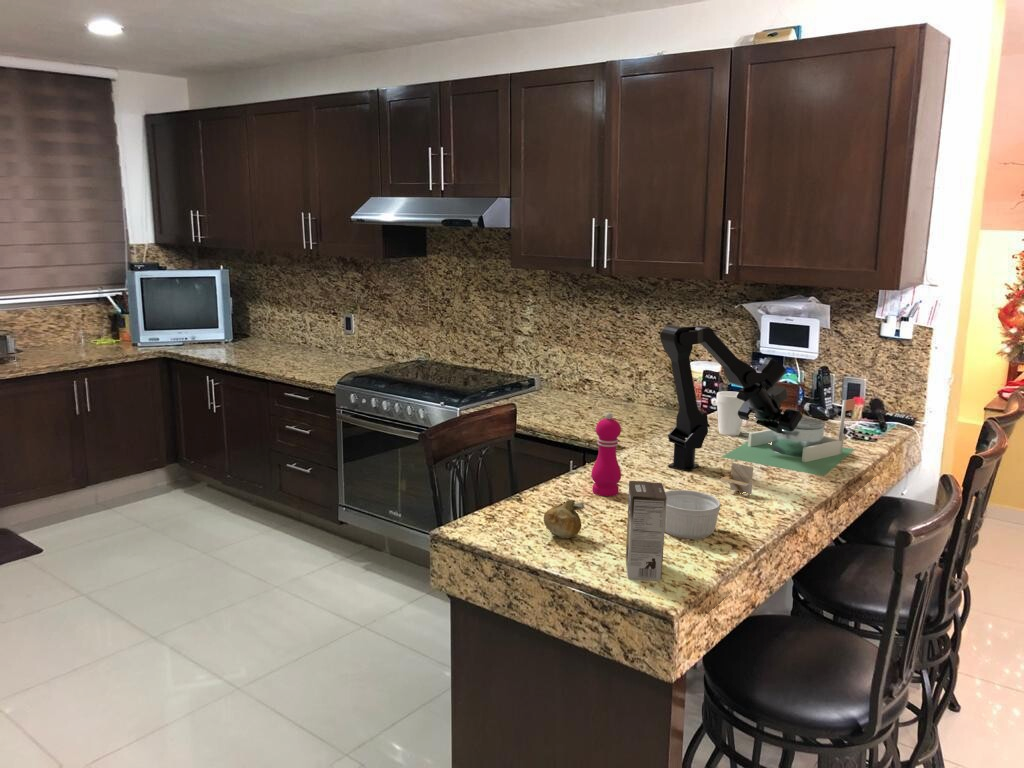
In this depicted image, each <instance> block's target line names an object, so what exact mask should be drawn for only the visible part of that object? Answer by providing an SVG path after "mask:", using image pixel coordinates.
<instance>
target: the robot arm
mask: <svg viewBox="0 0 1024 768" xmlns="http://www.w3.org/2000/svg"><path fill="white" fill-rule="evenodd" d="M659 337H660V342H661V345H662V347H663V350H664V352H665V353H666V355H667V356H668V358H669V359H670V362H671V363H670V364H671V368H672V369H671V370H672V373H673V379H674V385H675V392H676V395H677V403H678V407H679V408H678V409H679V410H678V412H677V414H676V417H675V418H676V419H675V420H676V421H675V422H676V425H675V426H674V427H673V429H671V431H670V432H669V433H668V434H667V439H668V441H669V443H672V444H674V445H673V458H672V463H669V464H668V465H667V467H668V468H672V469H677V470H682V471H687V472H691V471H693V470H695V469H696V468H698V467H699V466H700V464H698V463H695V461H696V460H695V459H696V450H697V449H702V447H703V444H704V441H705V439H706V436H707V435H708V434H709V433H708V432H709V427H710V424H709V422H708V413H707V412H705V411H702V410H701V409H699V407H698V401H697V395H696V390H695V384H694V379H693V373H692V366H691V361H690V357H691V353H692V351H693V348H694V347H693V345H698V344H700V345H702V347H703V348H705V350H706V351H707V352H708V354H710V355H711V356H712V357H713V359H715V360H716V362H717V363H719V365H720V366H721V367H722V370H723V374H724V375H725V377H726V379H727V381H728V383H731V384H732V385H735V386H738V387H741V389H739V390H738V392H739V393H738V394H737V398H738V399H740V400H743V401H744V403H743V404H742V406H741V407H740V409H739V410H738V416H739V417H740V419H743V420H742V421H749V419H750V417H749V416H750V414H754V415H753V416H754V419H756V422H755V423H756V424H757V425H759V426H762V427H764V428H767V430H769V429H770V430H773V431H775V432H777V433H780V434H781V432H782V429H783V430H787V431H794V429H795V428H796V426H797V425H798V423H799V422H800V420H801V419H802V417H804V416H803V413H802V412H801V410H799V409H796V408H795V409H794V408H785V411H784V409H783V408H781V407H782V404H781V403H783V402H784V401H785V400H786V399H788V398H789V395H788V391H787V387H786V386H784V385H777V384H778V382H779V381H780V380H781V379H782V378H783V376H784V375H786V373H787V370H786V368H785V367H784V365H782V364H781V363H779V362H778V361H776V360H775V359H774V358H773V357H769V356H768V357H767V358H766V359H765V360H764V361H763V363H762V364H761V365H760V366H759V367H758V369H757V370H756V369H755V368H754V367H753V366H752V365H750V364H748V363H747V362H745V361H743V360H741V359H739V358H738V357H737V356H736V355H735V354H734V353H733V352H732V350H730V348H729V347H728V346H727V345H726V344H725V343H724V342H723V341H722V340H721V338H719V336H718V335H717V334H716V333H715V331H714V330H713V329H712V328H711V327H710V326H705V325H696V326H680V325H679V326H678V325H675V324H667V325H666V326H665V327H664V328H663V329H662V331H661V332H660V336H659Z"/></svg>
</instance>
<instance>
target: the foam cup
mask: <svg viewBox="0 0 1024 768" xmlns="http://www.w3.org/2000/svg"><path fill="white" fill-rule="evenodd" d="M738 393H739V391H729V390H728V391H727V390H725V391H722V390H721V391H718V392H716V398H715V399H716V400H715V401H716V410H717V421H718V422H717V425H718V433H719V434H720V435H724V436H730V437H732V436H739V435H740V434H741V429H742V424H743V421H744V420H743V419H740V417H739V416H738V410H739V409H740V407H741V406H742V404H743V403H744V401H743V400H740V399H738V398H737V394H738Z"/></svg>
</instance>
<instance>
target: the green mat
mask: <svg viewBox="0 0 1024 768" xmlns="http://www.w3.org/2000/svg"><path fill="white" fill-rule="evenodd" d="M771 446H772V445H770V444H768V443H767V444H762V445H757V446H752V447H750V446H748V441H746V442H745V443H743V444H740V446H738V447H736V448H734V449H732V450H730V451H729V452H727V453H725V454H723V455H722V456H721V458H725V459H730V460H734V461H741V462H744V463H745V462H747V463H751V464H758V465H763V466H768V467H773V468H778V469H784V470H789V471H794V472H800V473H805V474H810V475H815V476H816V475H817V476H821V477H825V476H827V474H829V473H830V472H831V471H832V470H833V469H834V468H835V467H837V465H839V464H841V462H842V461H843V460H845V459H846V458H848V456H849V455H851V454H852V453H853V452H854V451H855V450H856V449H855V448H849V447H844V446H843V447H842V454H839V455H834V456H830V457H826V458H821V459H817V460H812V461H808V462H802V457H798V456H790V455H785V454H780V453H777V452H774V451H772V450H771V449H770V447H771Z"/></svg>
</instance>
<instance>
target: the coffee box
mask: <svg viewBox="0 0 1024 768" xmlns="http://www.w3.org/2000/svg"><path fill="white" fill-rule="evenodd" d="M665 492H666V491H665V489H664V485H663V482H652V481H643V480H629V481H628V500H627V502H628V503H627V519H626V521H627V523H626V542H625V543H626V544H625V548H626V549H625V564H626V566H625V567H626V573H627V579H628V580H640V581H656V582H660V581H662V576H663V574H662V573H663V572H662V571H663V560H664V546H665V533H666V532H665V519H666V503H667V497H666V494H665Z"/></svg>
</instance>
